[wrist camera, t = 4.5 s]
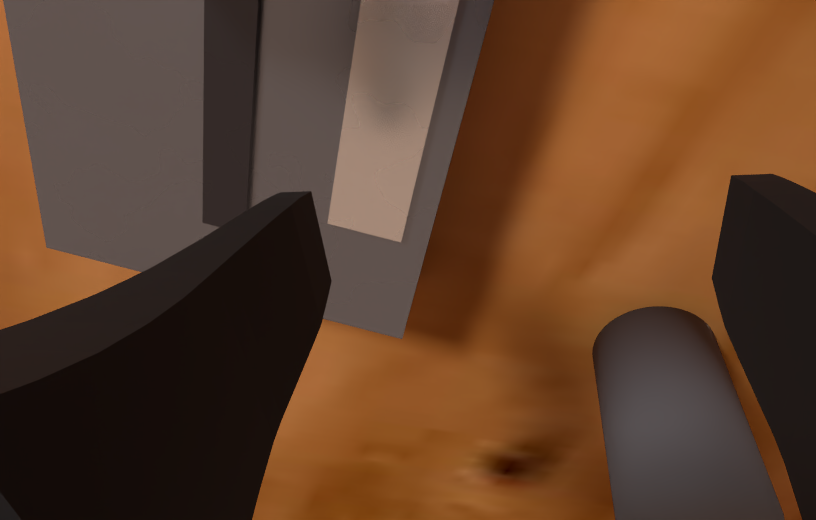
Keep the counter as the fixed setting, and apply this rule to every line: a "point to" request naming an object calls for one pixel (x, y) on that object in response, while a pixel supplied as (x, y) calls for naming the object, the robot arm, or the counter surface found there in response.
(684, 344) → the post
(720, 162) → the counter surface
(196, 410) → the robot arm
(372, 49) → the panel
